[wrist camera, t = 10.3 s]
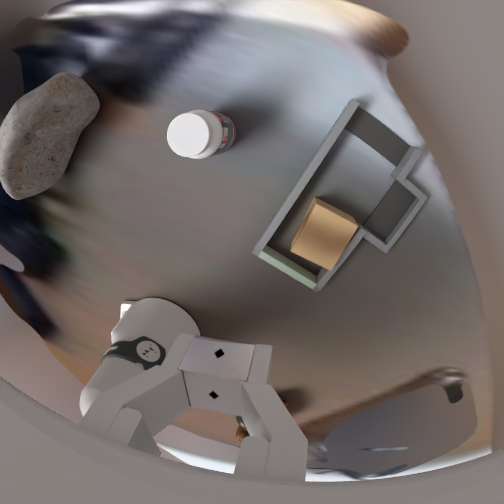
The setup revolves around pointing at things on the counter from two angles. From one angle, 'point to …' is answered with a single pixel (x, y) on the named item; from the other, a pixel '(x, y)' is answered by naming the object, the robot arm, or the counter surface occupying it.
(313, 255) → the oak block
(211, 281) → the counter surface
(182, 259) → the counter surface
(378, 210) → the channel
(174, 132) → the pill bottle
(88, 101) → the decorative stone
